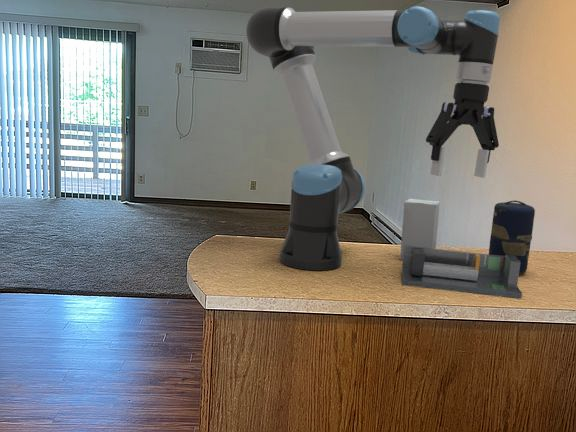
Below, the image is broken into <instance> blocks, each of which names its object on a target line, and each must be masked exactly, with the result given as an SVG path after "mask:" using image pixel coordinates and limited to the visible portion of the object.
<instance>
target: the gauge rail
mask: <svg viewBox="0 0 576 432" xmlns="http://www.w3.org/2000/svg"><path fill="white" fill-rule="evenodd" d="M413 248H414V249H423V250H424V252H425V259H424V262H430V263H439V264H448V265H457V266H466V267H474V259H475V254H479V255H480V263H479V271H478V278H477V281H475V280H466V279H457V278H448V277H439V276H430V275H423V276H417V275H412V273H411V266H412V257H413ZM520 263H521V262H520V261H519V260H518V259H517V257H516V256H514V255H506V256H500V255H490V254H489V253H480V252H472V251H462V250H461V251H459V250H452V249H451V250H450V249H442V248H436V249H433V248H424V247H414V246H404V254H403V259H402V264H401V265H402V266H401V285H402V286H403V285H404V286H409V287H410V286H411V287H412V286H413V287H420V288H427V289H428V288H429V289H436V290H445V291H454V292H462V293H463V292H464V293H471V294H477V295H488V296H489V295H490V296H497V297H505V298H512V299H513V298H514V299H522V297H523V292H522V291H521V290H520V288H519V287H518V283H519V275H520V274H519V270H520Z"/></svg>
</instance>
